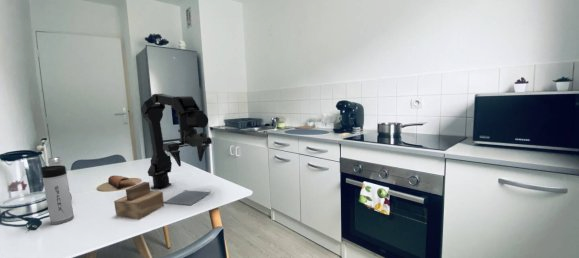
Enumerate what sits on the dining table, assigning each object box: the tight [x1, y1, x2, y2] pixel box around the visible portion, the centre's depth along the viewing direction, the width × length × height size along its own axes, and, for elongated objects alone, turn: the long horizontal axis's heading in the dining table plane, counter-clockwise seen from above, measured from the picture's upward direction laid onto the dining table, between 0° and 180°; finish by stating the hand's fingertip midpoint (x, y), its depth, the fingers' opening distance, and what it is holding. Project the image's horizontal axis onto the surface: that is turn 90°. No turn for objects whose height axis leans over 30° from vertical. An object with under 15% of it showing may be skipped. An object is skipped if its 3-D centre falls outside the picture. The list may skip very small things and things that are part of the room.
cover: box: [113, 181, 165, 220], centre depth 95 cm, size 11×11×10 cm
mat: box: [164, 190, 211, 207], centre depth 106 cm, size 13×13×1 cm
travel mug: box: [40, 165, 75, 225], centre depth 90 cm, size 6×7×20 cm
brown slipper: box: [107, 175, 137, 190], centre depth 129 cm, size 18×7×7 cm
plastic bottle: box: [47, 156, 73, 202], centre depth 104 cm, size 6×7×20 cm
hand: (190, 163), depth 107 cm, fingers open, 9 cm apart
